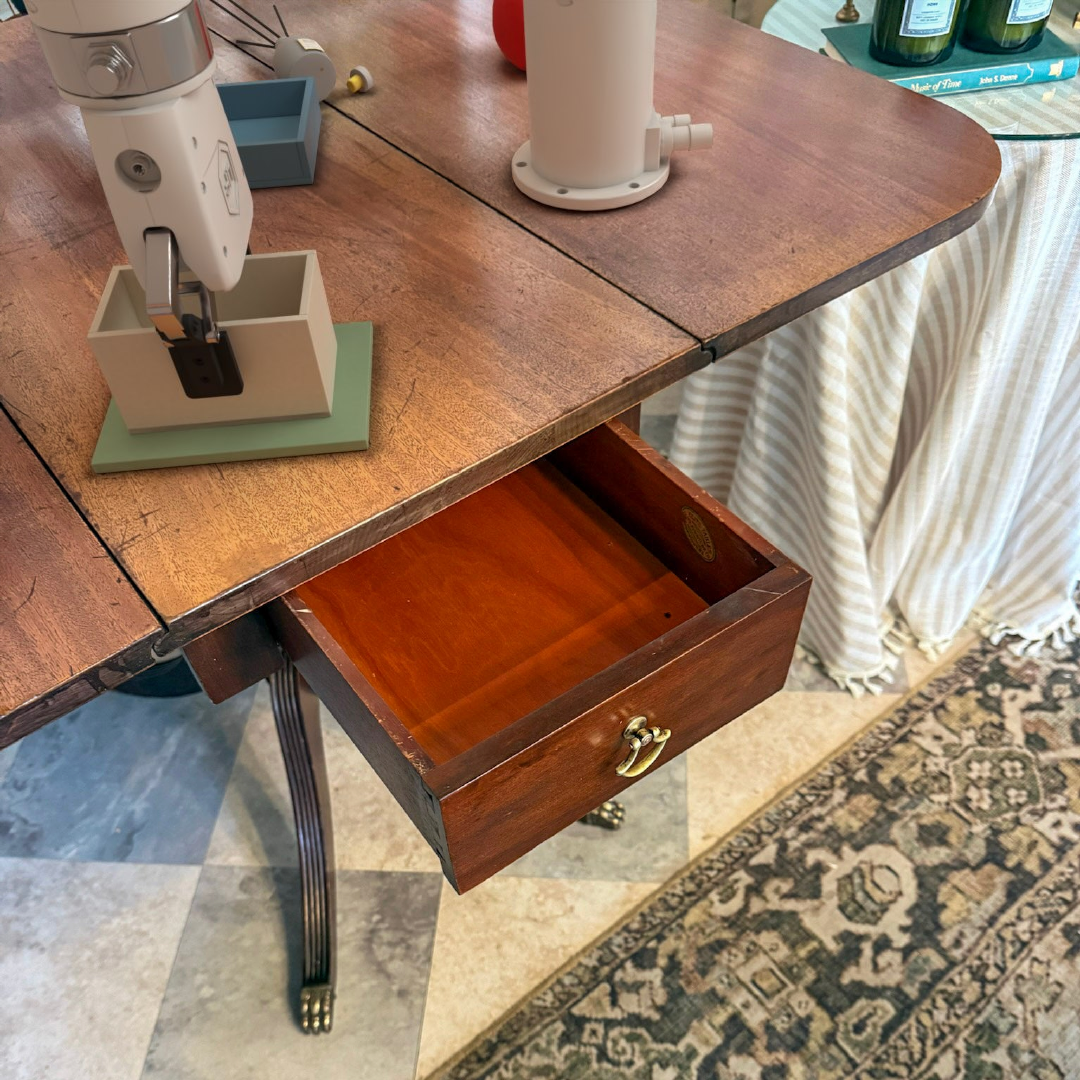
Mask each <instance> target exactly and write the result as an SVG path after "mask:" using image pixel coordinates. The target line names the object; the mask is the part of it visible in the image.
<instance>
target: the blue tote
mask: <svg viewBox="0 0 1080 1080" xmlns="http://www.w3.org/2000/svg"><path fill="white" fill-rule="evenodd" d="M215 85H216V88H217V91H218V94H219V96H220V99H221V102H222V105H223V108H224V111H225V114H226V117H227V120H228V123H229V126H230V129H231V132H232V135H233V138H234V142H235V145H236V148H237V151H238V154H239V157H240V160H241V163H242V167H243V170H244V173H245V176H246V179H247V182H248V186H249V189H250V190H251V189H252V190H253V189H264V188H278V187H288V186H289V187H290V186H303V185H313V183H314V177H315V172H316V171H315V170H316V162H317V154H318V148H319V147H318V146H319V140H320V133H321V125H322V119H323V118H322V117H323V116H322V111H321V107H320V102H319V101H318V96H317V91H316V86H315V81H314V77H301V78H288V79H278V78H277V79H275V78H274V79H265V80H263V79H262V80H250V81H237V82H226V83H215Z"/></svg>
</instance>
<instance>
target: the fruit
mask: <svg viewBox="0 0 1080 1080" xmlns="http://www.w3.org/2000/svg"><path fill="white" fill-rule="evenodd" d="M491 9H492V10H491V11H492V12H491V15H492V16H491V23H492V25H491V26H492V31H493V35H494V39H495V42H496V44H497V46H498V48H499V50H500V51H501V53H502V55H503V56H504V57H505V58H506V59H507V60H508V61H509V62H510V63H511V64H513V66H515V67H516V68H518V69H519V70H520V71H524V72H527V69H526V48H525V27H524V6H523V0H492V7H491Z"/></svg>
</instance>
